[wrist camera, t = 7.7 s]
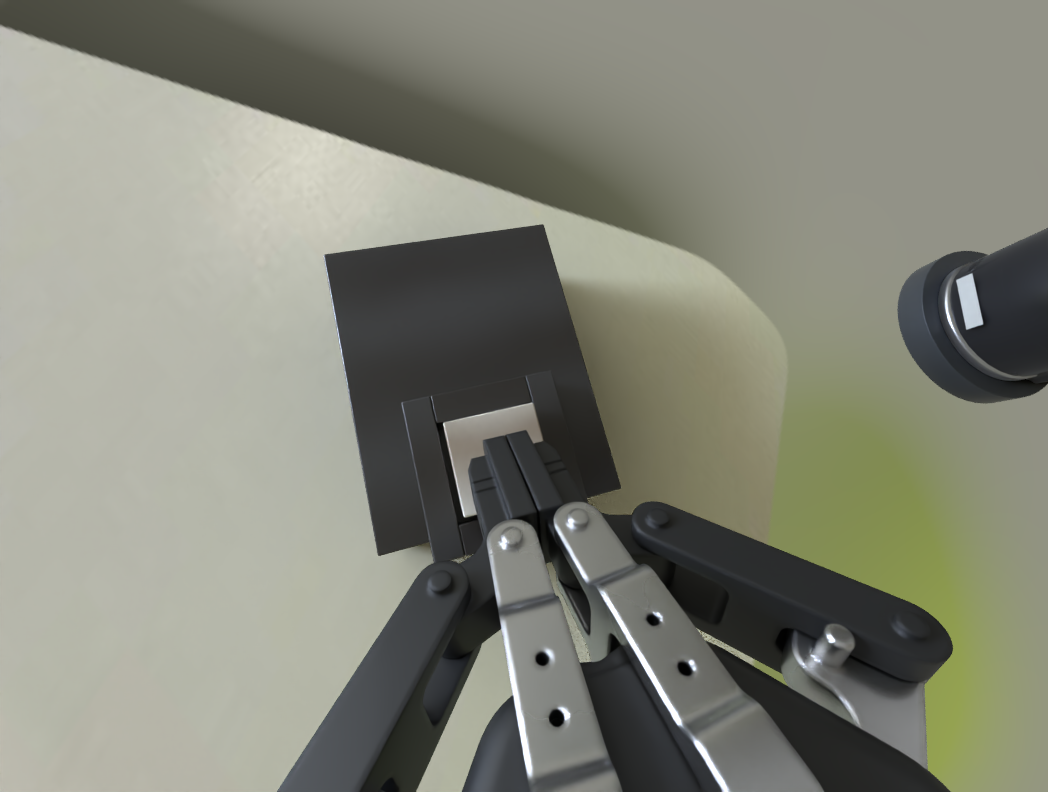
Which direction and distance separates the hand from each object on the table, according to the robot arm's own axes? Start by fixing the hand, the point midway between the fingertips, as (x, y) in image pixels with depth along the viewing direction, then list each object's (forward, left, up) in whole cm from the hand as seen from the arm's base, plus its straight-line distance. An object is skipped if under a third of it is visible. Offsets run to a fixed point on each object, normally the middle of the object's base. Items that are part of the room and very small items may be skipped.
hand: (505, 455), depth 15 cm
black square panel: (+3, -3, -10) cm, 11 cm away
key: (0, 0, -3) cm, 3 cm away
